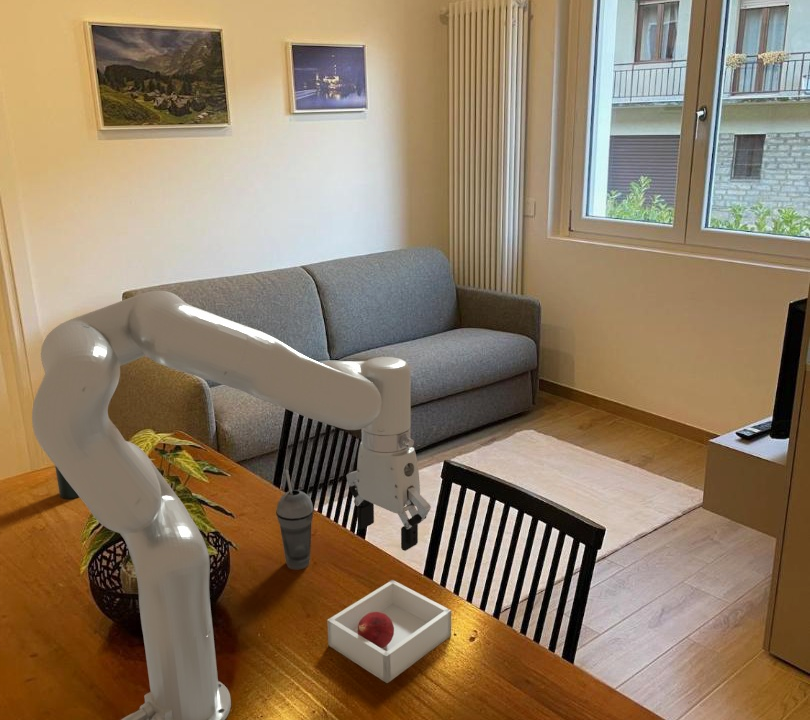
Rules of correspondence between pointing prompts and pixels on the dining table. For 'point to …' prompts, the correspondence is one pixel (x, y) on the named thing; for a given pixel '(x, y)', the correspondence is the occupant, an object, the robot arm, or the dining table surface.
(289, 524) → the beverage cup
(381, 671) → the bin
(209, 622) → the robot arm
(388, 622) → the onion
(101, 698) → the dining table surface
